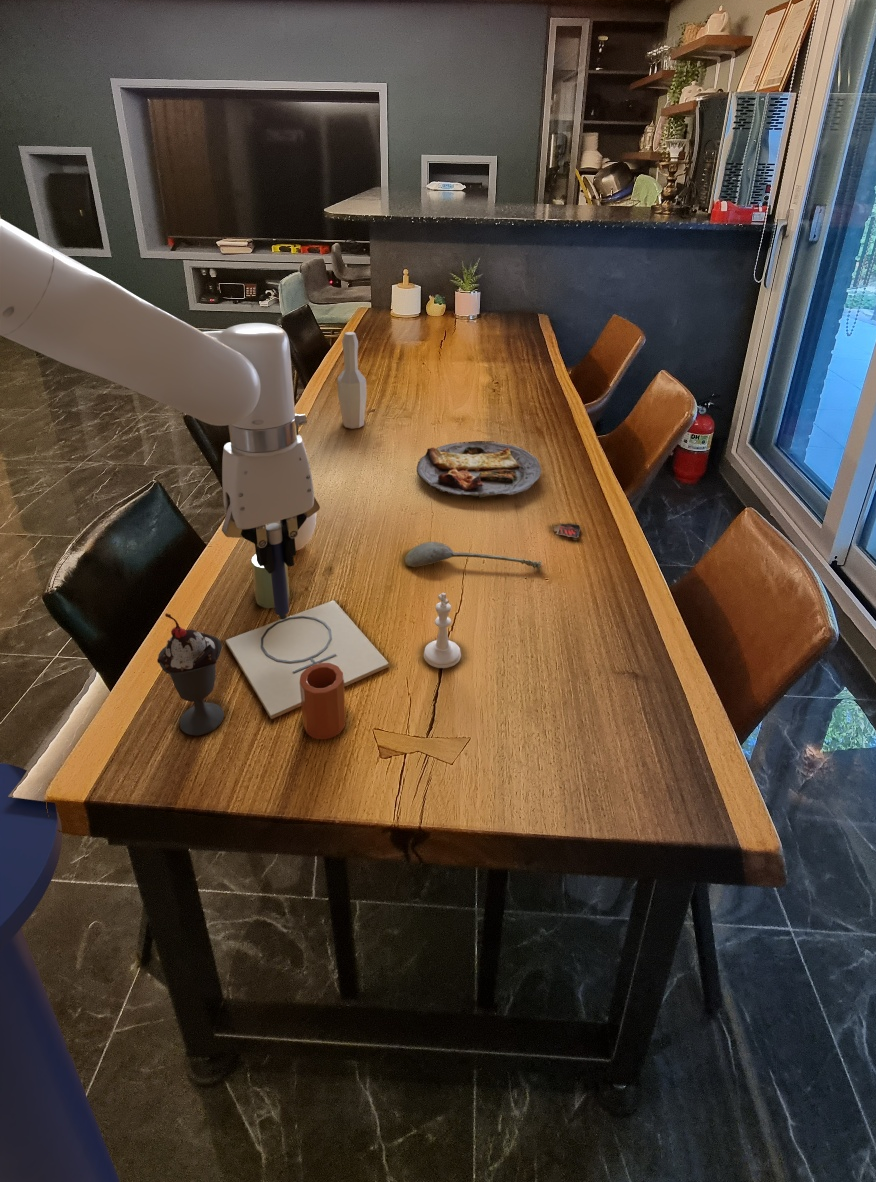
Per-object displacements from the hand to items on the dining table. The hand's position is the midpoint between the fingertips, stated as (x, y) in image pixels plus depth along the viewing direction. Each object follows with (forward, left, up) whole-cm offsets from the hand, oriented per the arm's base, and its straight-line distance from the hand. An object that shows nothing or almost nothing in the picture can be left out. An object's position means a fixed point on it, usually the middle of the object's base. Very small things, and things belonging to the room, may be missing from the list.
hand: (277, 563), depth 88 cm
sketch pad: (+1, -4, -13) cm, 13 cm away
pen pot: (-2, -16, -13) cm, 20 cm away
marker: (0, 0, -9) cm, 9 cm away
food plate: (+52, +26, -13) cm, 60 cm away
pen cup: (+2, +10, -13) cm, 17 cm away
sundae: (-13, -7, -13) cm, 20 cm away
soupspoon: (+32, +1, -13) cm, 35 cm away
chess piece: (+16, -14, -13) cm, 25 cm away
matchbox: (+52, 0, -13) cm, 54 cm away
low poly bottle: (+43, +63, -13) cm, 78 cm away
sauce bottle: (+10, +21, -13) cm, 27 cm away
